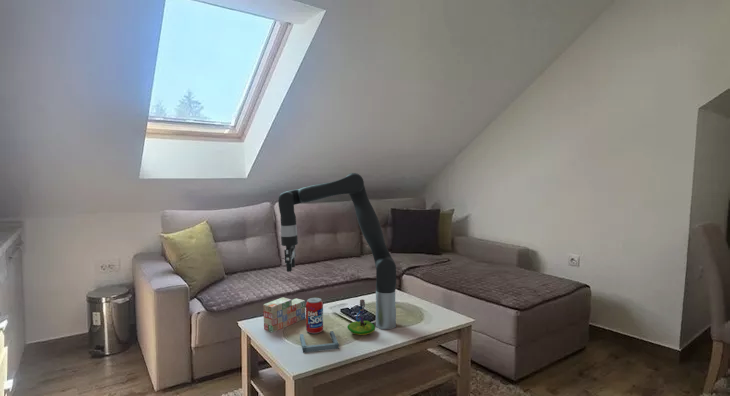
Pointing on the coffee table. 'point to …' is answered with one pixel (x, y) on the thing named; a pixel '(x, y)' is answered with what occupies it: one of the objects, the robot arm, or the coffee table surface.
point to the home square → (322, 346)
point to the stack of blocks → (283, 313)
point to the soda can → (314, 315)
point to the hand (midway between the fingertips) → (291, 269)
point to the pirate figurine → (361, 323)
